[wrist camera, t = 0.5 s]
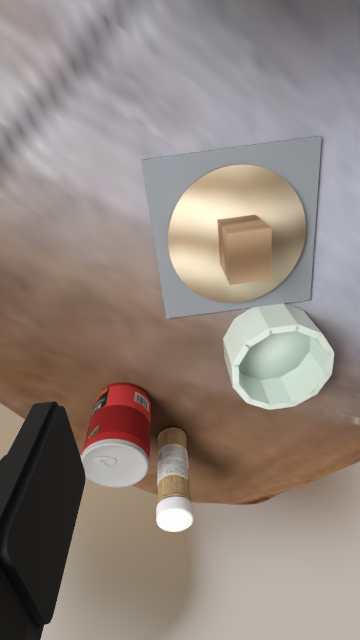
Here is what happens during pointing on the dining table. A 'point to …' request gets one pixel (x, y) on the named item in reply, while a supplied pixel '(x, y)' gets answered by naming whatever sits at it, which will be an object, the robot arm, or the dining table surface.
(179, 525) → the sprinkles bottle
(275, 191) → the lid
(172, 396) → the dining table surface
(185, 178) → the mat
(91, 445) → the canned food
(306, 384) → the bowl
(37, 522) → the robot arm
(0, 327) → the dining table surface
